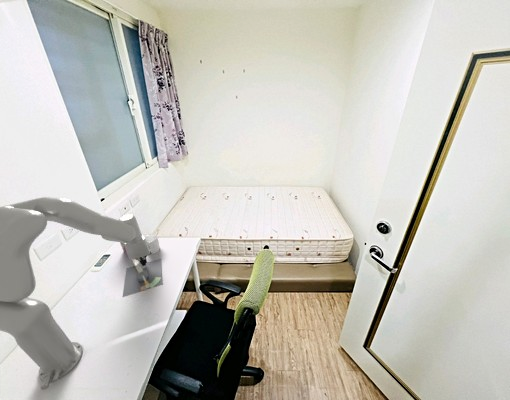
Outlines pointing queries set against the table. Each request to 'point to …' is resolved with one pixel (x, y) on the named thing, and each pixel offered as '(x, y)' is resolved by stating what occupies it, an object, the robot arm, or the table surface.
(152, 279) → the tuner board
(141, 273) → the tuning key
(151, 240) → the white cup
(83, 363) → the table surface
